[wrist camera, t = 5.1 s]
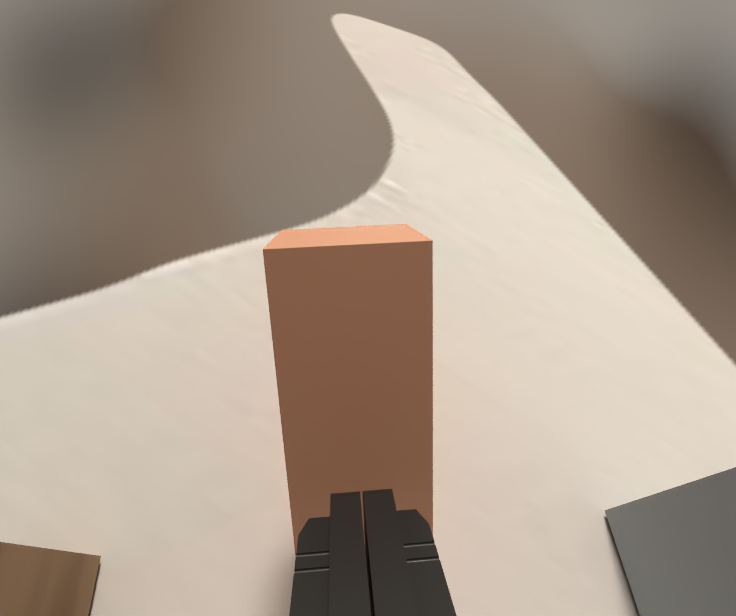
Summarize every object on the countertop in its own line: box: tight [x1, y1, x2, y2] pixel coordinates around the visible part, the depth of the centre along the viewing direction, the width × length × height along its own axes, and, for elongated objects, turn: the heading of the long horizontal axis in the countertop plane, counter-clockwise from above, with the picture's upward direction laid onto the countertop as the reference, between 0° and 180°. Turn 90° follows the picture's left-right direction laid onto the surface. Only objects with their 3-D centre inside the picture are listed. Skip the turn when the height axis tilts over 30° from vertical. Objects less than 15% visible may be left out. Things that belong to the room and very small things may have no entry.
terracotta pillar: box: [263, 224, 433, 554], centre depth 14 cm, size 4×4×12 cm
